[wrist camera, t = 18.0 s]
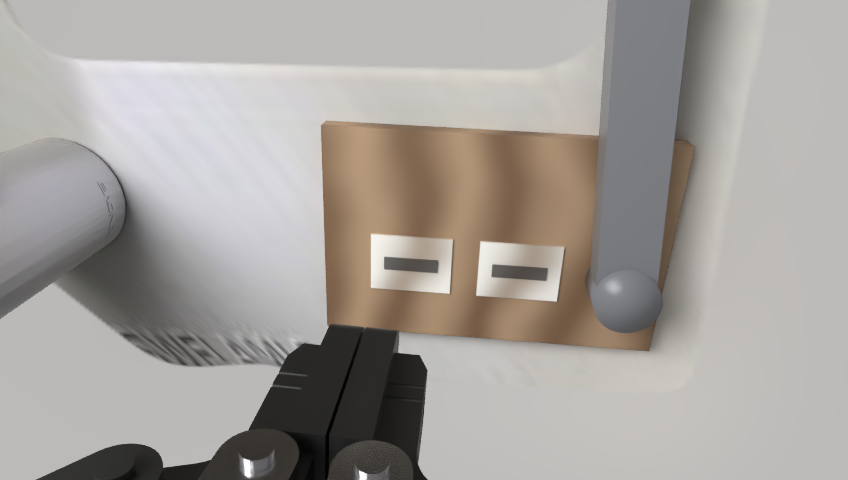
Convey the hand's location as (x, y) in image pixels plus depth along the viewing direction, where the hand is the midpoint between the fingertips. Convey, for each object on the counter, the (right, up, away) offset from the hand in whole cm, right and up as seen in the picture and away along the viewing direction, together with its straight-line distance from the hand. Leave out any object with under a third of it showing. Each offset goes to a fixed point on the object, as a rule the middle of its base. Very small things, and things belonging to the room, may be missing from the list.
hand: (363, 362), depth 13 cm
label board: (+7, +3, +31) cm, 32 cm away
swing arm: (+15, +9, +26) cm, 31 cm away
